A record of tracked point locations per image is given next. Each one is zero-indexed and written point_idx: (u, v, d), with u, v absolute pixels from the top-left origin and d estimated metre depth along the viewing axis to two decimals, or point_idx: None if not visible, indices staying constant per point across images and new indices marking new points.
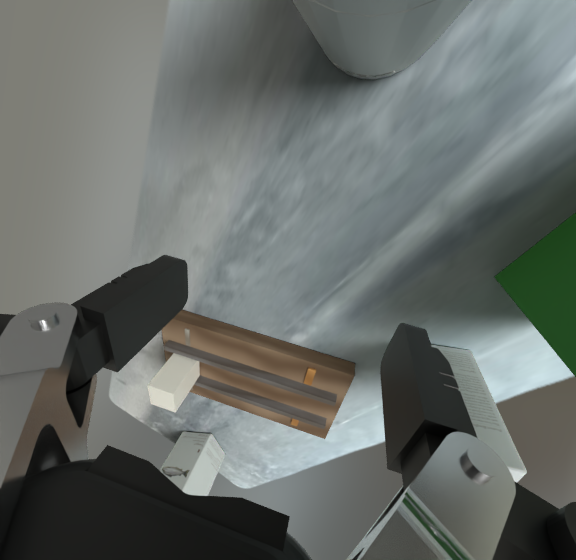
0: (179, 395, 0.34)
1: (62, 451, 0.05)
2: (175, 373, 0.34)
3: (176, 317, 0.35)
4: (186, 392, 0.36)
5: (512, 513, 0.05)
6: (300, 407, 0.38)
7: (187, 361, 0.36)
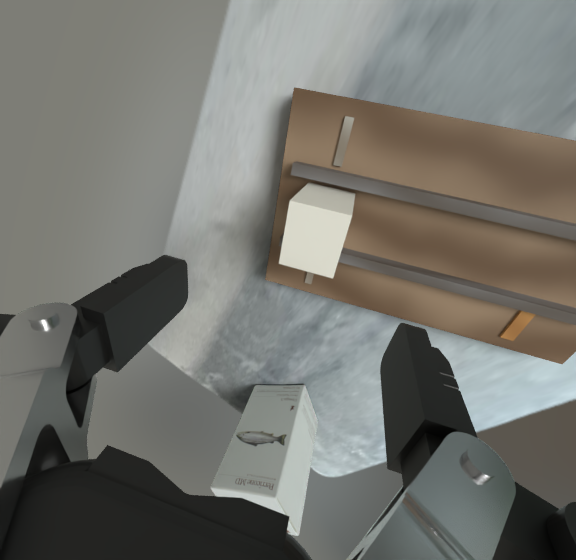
0: None
1: (62, 451, 0.05)
2: (331, 199, 0.17)
3: (327, 94, 0.17)
4: None
5: (512, 513, 0.05)
6: (543, 294, 0.20)
7: (339, 193, 0.18)
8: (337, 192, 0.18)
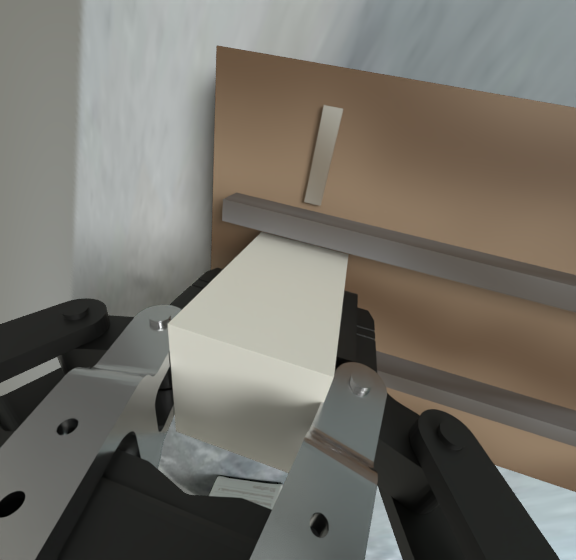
0: None
1: (138, 455, 0.05)
2: (294, 288, 0.07)
3: None
4: None
5: (386, 421, 0.06)
6: None
7: (316, 259, 0.09)
8: (312, 258, 0.09)
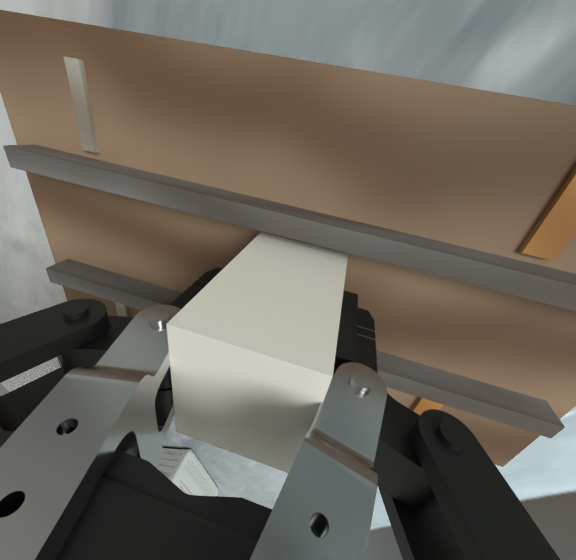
0: None
1: (138, 455, 0.05)
2: (293, 288, 0.07)
3: None
4: None
5: (386, 421, 0.06)
6: (457, 366, 0.12)
7: (316, 259, 0.09)
8: (311, 257, 0.09)
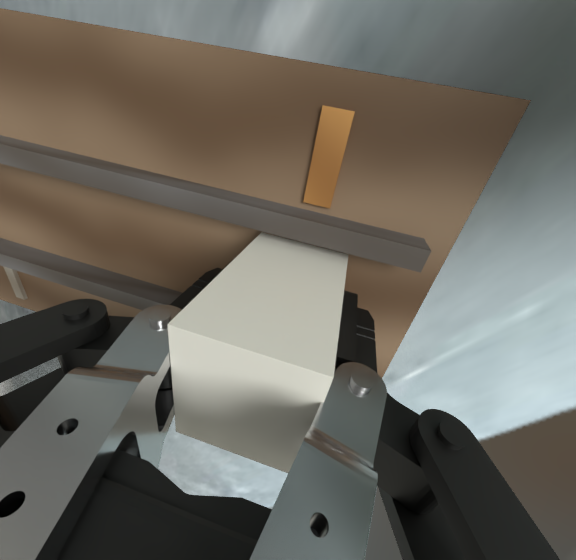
0: None
1: (138, 455, 0.05)
2: (293, 289, 0.07)
3: None
4: None
5: (386, 420, 0.06)
6: None
7: (316, 260, 0.09)
8: (312, 258, 0.09)
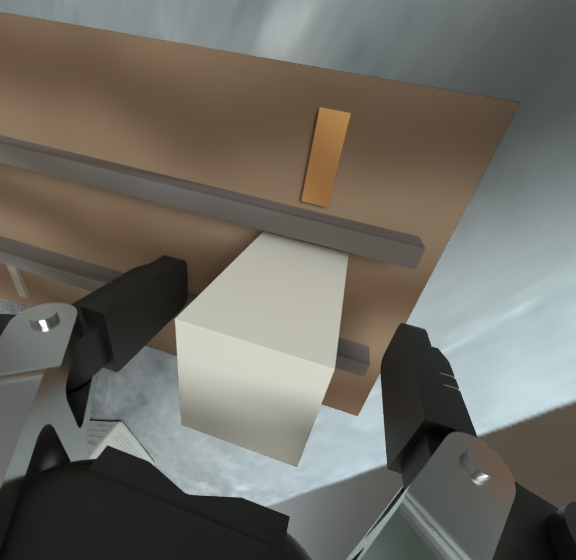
0: None
1: (62, 451, 0.05)
2: (295, 286, 0.08)
3: None
4: None
5: (512, 513, 0.05)
6: None
7: (317, 258, 0.10)
8: (313, 256, 0.10)
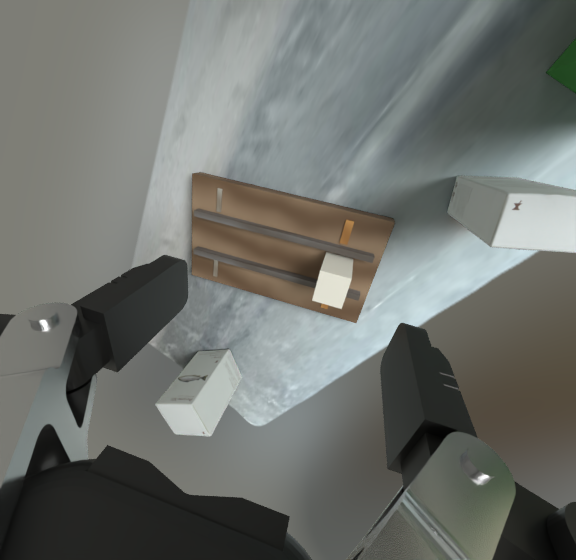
0: None
1: (62, 451, 0.05)
2: (340, 266, 0.31)
3: (209, 177, 0.34)
4: None
5: (512, 513, 0.05)
6: None
7: (344, 259, 0.33)
8: (343, 259, 0.33)
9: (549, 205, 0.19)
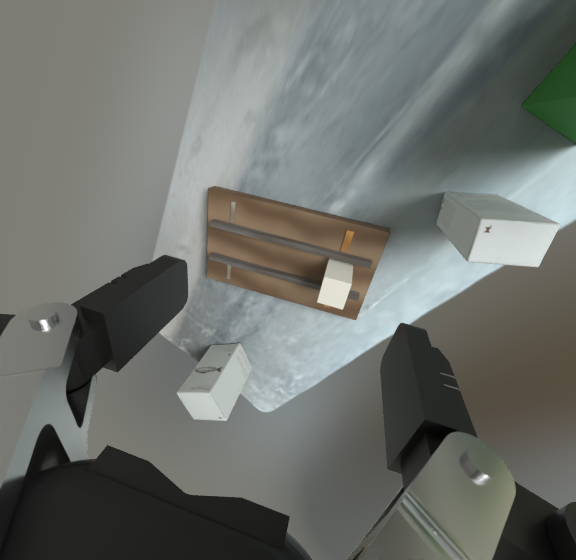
0: None
1: (62, 451, 0.05)
2: (342, 271, 0.35)
3: (223, 191, 0.38)
4: None
5: (512, 513, 0.05)
6: None
7: (345, 265, 0.37)
8: (344, 265, 0.37)
9: (514, 229, 0.23)
